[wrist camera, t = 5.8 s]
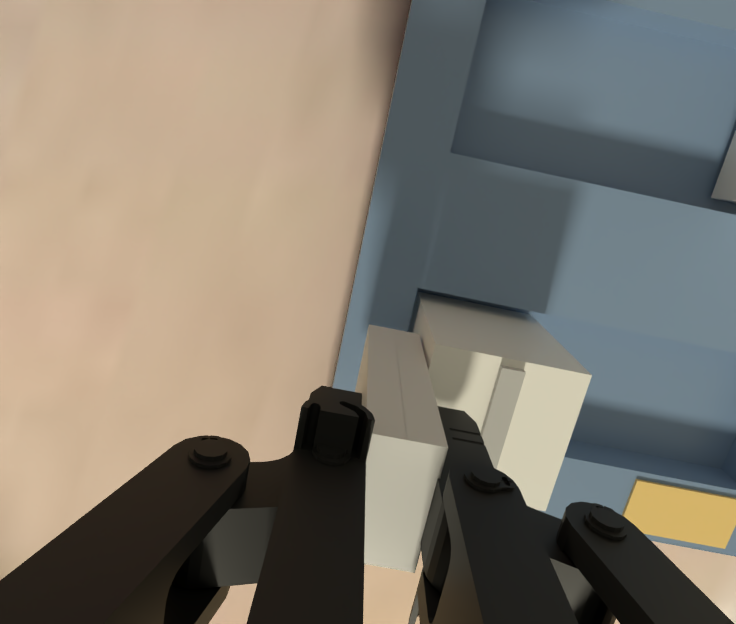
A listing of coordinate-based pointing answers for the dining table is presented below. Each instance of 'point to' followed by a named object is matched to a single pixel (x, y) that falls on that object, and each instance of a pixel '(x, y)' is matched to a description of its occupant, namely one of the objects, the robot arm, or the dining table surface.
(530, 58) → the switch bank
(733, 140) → the tab
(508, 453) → the tab
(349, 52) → the dining table surface
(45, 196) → the dining table surface
